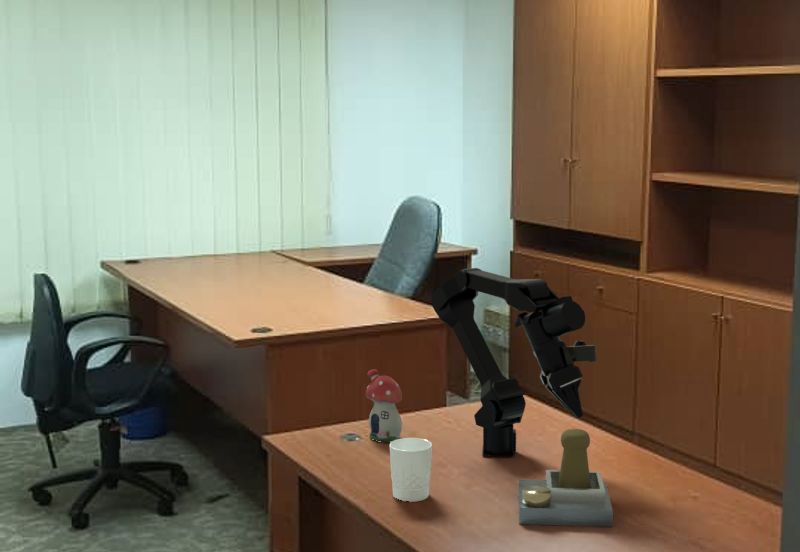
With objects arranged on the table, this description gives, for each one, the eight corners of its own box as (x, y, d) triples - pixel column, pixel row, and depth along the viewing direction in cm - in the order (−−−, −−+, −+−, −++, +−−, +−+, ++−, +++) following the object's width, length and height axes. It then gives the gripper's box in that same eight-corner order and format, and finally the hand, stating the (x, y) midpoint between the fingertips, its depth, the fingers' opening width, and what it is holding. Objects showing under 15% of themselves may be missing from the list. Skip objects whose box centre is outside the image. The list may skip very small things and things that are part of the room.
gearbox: (519, 524, 184) (519, 496, 183) (518, 494, 198) (518, 469, 197) (612, 527, 183) (613, 499, 182) (605, 497, 196) (605, 471, 196)
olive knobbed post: (554, 483, 194) (555, 426, 193) (586, 482, 195) (587, 425, 193) (561, 495, 188) (563, 436, 187) (595, 494, 189) (596, 435, 187)
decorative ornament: (361, 434, 235) (360, 369, 232) (386, 429, 238) (385, 364, 236) (382, 445, 227) (382, 378, 224) (408, 440, 230) (408, 373, 228)
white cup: (437, 490, 200) (437, 440, 199) (424, 505, 193) (424, 453, 191) (398, 486, 203) (397, 436, 201) (384, 500, 196) (383, 448, 194)
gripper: (590, 325, 198) (623, 402, 197) (576, 325, 217) (607, 396, 216) (535, 348, 198) (568, 425, 197) (526, 346, 217) (557, 417, 216)
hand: (577, 415), depth 207 cm, fingers open, 9 cm apart
